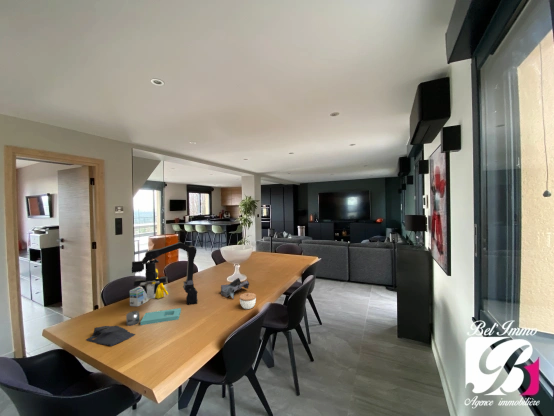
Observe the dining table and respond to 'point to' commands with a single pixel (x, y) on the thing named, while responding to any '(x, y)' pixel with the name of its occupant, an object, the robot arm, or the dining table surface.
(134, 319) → the round bit
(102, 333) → the dark slate chunk
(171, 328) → the dining table surface
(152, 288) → the square bit
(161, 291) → the figure statuette
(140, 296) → the light bulb box
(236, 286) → the dark grey angular piece
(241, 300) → the lidded jar
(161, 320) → the bore block
